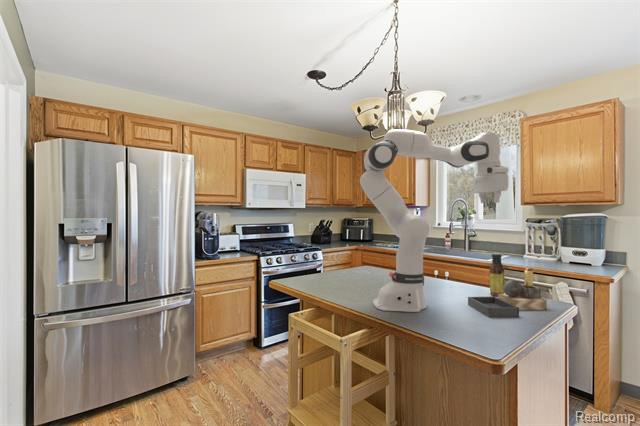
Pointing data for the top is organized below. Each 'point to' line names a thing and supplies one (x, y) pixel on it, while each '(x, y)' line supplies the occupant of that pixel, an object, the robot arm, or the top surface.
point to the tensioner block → (523, 296)
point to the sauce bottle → (496, 275)
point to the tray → (493, 307)
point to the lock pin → (528, 278)
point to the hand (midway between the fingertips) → (489, 202)
